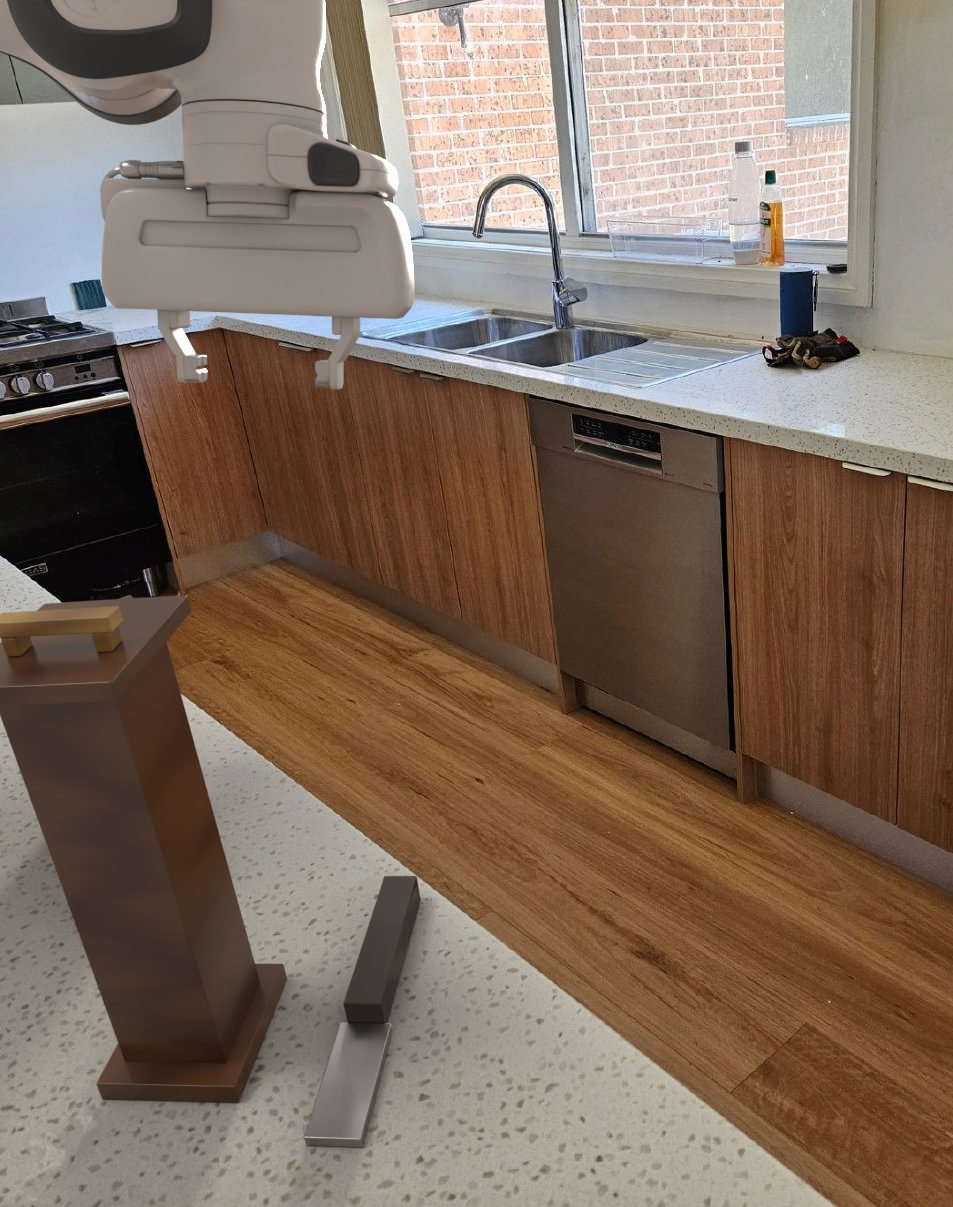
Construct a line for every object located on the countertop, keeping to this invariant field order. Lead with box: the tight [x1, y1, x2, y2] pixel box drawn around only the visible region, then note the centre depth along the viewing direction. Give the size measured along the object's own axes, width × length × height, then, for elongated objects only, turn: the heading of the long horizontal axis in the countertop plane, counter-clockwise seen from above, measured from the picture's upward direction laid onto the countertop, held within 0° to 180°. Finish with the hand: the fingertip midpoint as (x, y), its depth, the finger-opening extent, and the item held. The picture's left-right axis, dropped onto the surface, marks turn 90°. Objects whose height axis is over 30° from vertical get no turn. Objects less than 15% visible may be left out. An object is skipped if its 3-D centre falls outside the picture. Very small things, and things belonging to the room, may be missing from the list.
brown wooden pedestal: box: [0, 594, 288, 1103], centre depth 56 cm, size 8×9×28 cm
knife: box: [303, 875, 422, 1148], centre depth 62 cm, size 3×18×2 cm, turn 172°
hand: (260, 385), depth 72 cm, fingers open, 8 cm apart
